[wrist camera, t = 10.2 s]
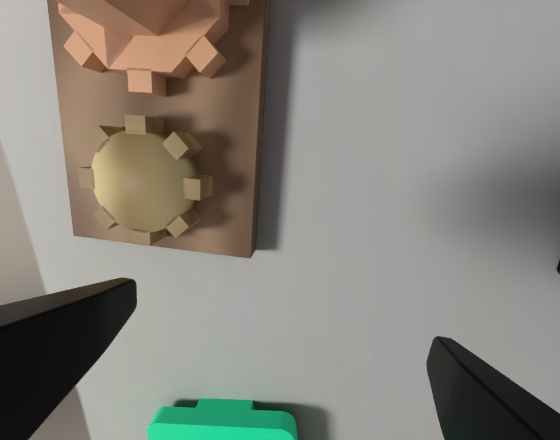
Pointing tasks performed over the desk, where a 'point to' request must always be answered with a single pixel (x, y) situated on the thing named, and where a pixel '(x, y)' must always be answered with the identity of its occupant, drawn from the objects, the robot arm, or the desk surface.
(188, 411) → the camera mount
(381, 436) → the desk surface
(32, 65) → the desk surface
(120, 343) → the desk surface
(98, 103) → the carrier
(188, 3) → the gear
